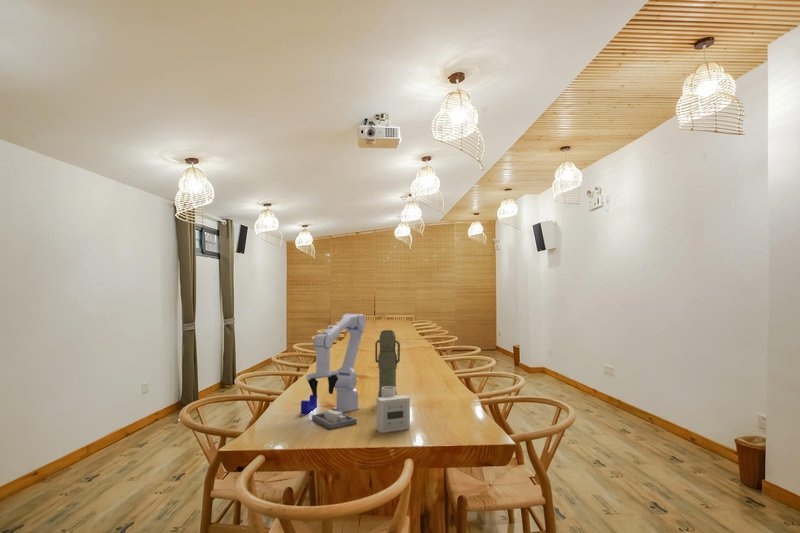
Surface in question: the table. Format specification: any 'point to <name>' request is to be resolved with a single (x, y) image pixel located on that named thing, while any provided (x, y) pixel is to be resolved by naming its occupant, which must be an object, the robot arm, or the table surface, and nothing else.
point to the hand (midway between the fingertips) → (322, 395)
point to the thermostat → (392, 411)
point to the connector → (334, 416)
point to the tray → (331, 425)
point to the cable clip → (308, 405)
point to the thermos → (387, 359)
